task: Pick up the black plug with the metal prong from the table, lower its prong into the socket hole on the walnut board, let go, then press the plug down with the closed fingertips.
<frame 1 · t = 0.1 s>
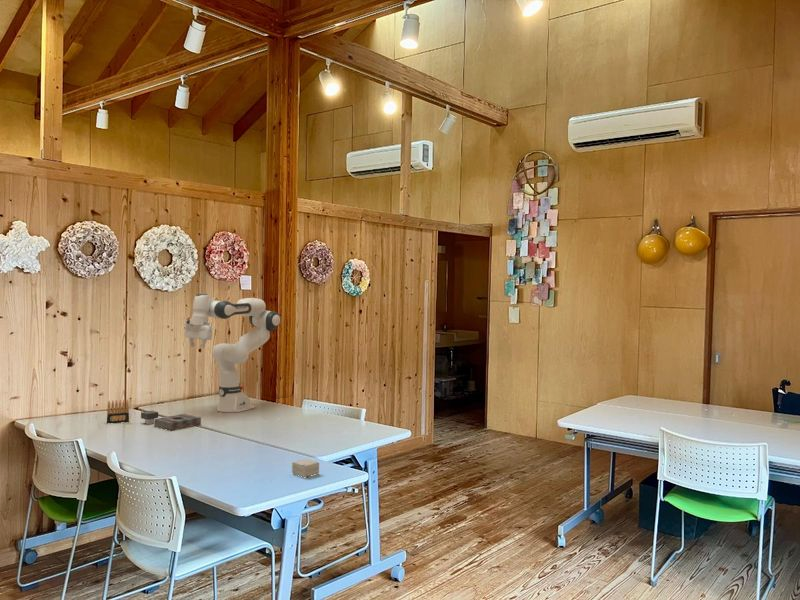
hand: (197, 346, 351), 39 cm above the table, tool pointing down, fingers open, 8 cm apart
small box: (305, 475, 251), on the table
plug: (149, 423, 332), on the table
ammunition clip: (117, 423, 332), on the table
socket board: (177, 425, 328), on the table
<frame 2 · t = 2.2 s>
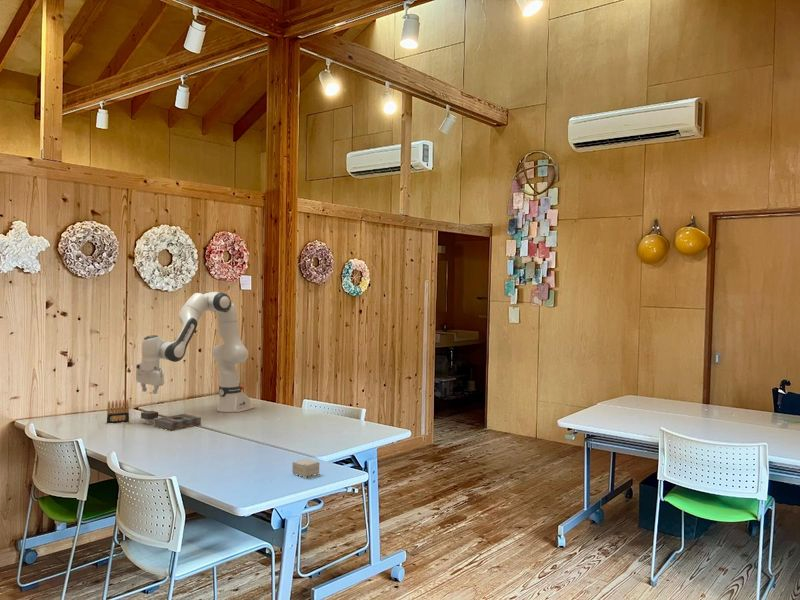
hand: (149, 392, 332), 16 cm above the table, tool pointing down, fingers open, 8 cm apart
nothing on the table moved.
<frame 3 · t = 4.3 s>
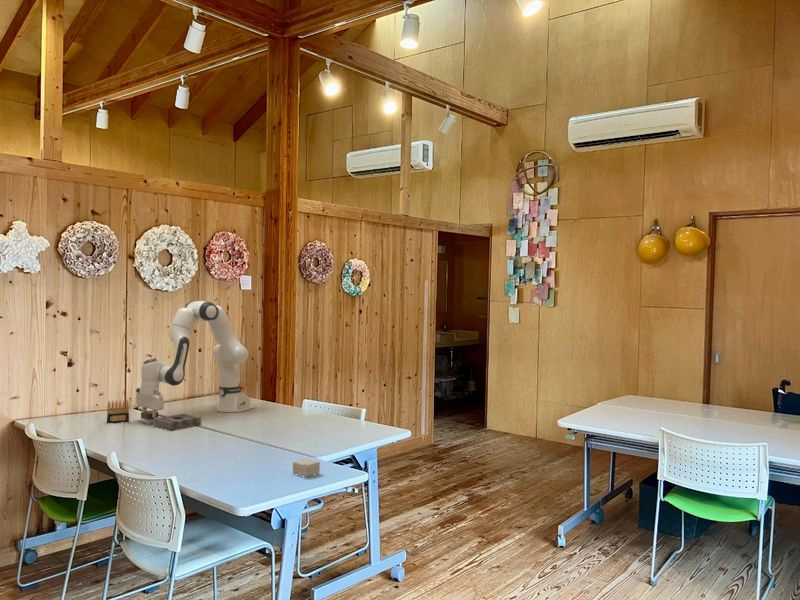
hand: (149, 416, 332), 4 cm above the table, tool pointing down, fingers closed on plug, 5 cm apart
plug: (149, 423, 332), on the table, touching gripper
everything else where it was.
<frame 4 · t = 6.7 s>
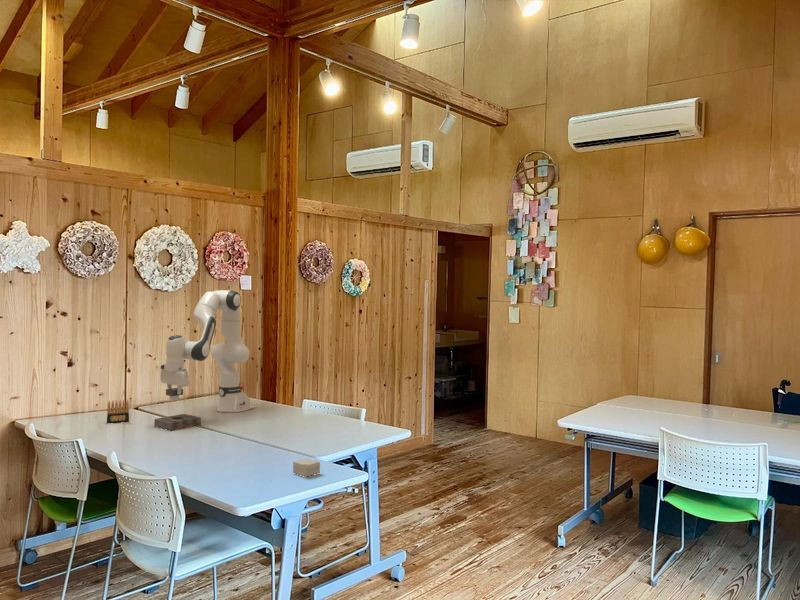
hand: (174, 393, 328), 17 cm above the table, tool pointing down, fingers closed on plug, 5 cm apart
plug: (174, 400, 328), point 13 cm above the table, touching gripper
everything else where it was.
when the fingers open (5 cm above the table, at t = 9.4 s): plug stays where it is, resting on socket board.
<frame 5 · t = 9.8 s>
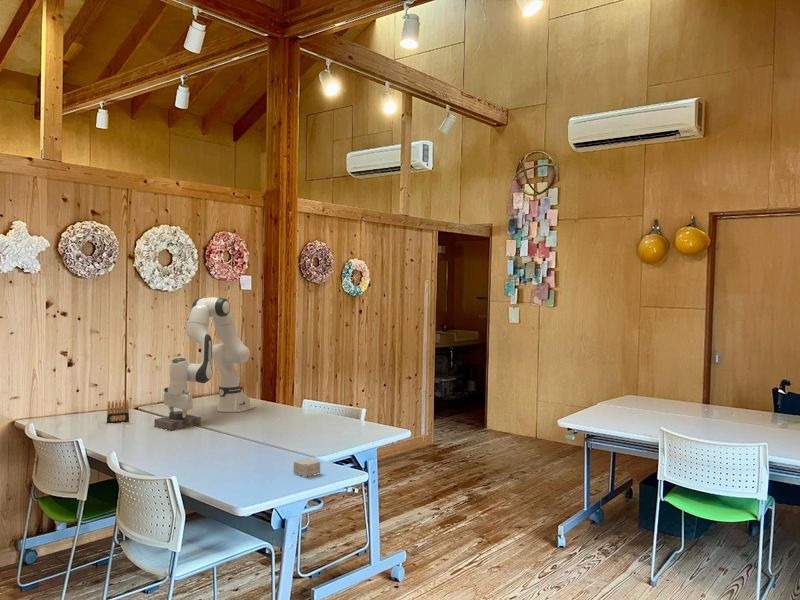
hand: (178, 416, 328), 5 cm above the table, tool pointing down, fingers open, 8 cm apart
plug: (177, 423, 328), point 1 cm above the table, touching socket board
everything else where it was.
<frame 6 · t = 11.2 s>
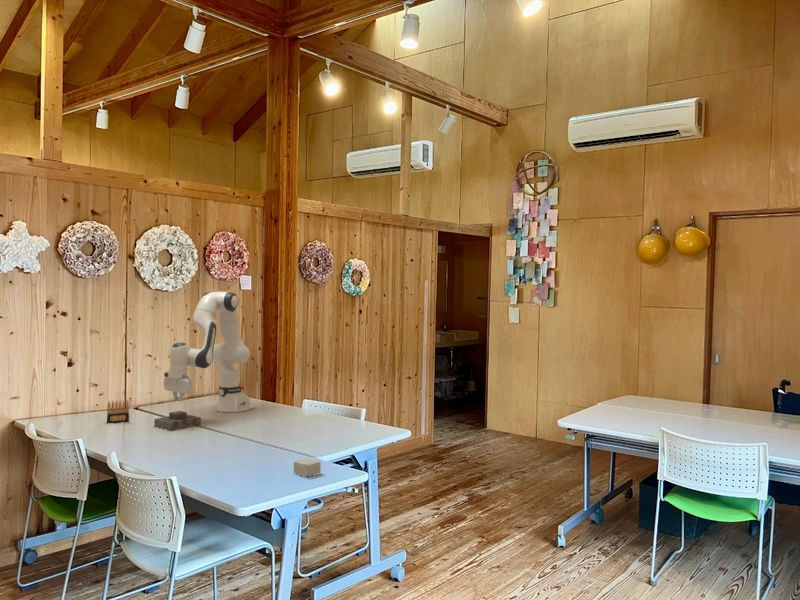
hand: (178, 400, 328), 13 cm above the table, tool pointing down, fingers closed
nothing on the table moved.
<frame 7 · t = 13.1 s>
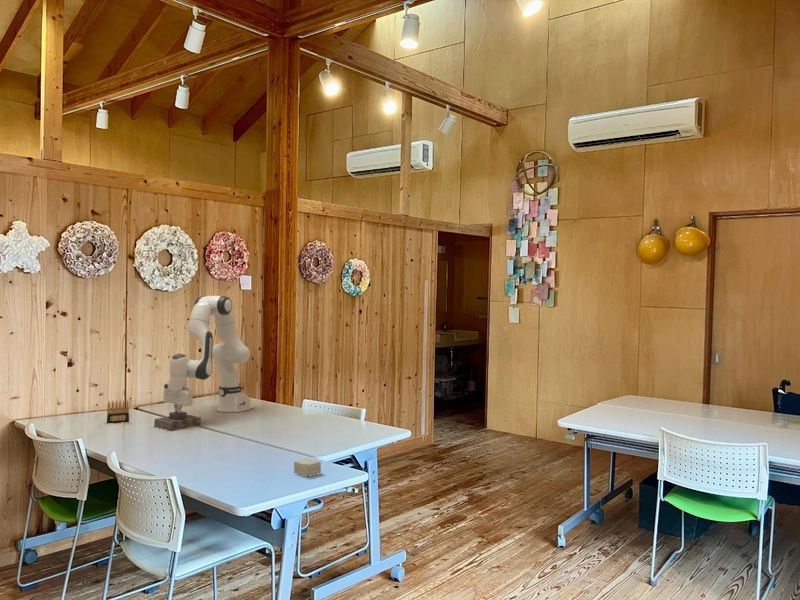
hand: (177, 412, 328), 7 cm above the table, tool pointing down, fingers closed, pressing on plug
plug: (177, 423, 328), point 1 cm above the table, touching gripper, socket board
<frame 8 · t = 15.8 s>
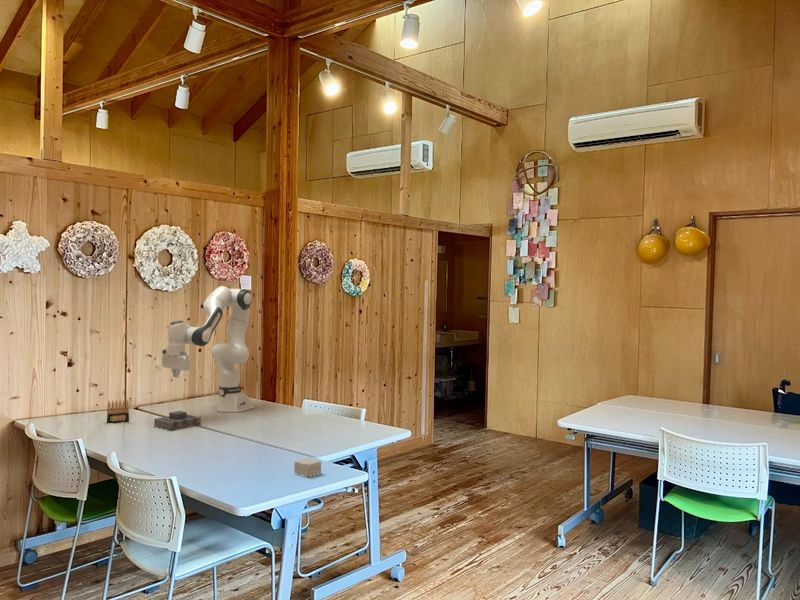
hand: (175, 377, 335), 24 cm above the table, tool pointing down, fingers closed
plug: (177, 423, 328), point 1 cm above the table, touching socket board
at the end: plug 0.0 cm off-centre on the socket board, point 1.2 cm above the socket board's base; plug tilted 0°; the gripper is holding nothing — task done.
